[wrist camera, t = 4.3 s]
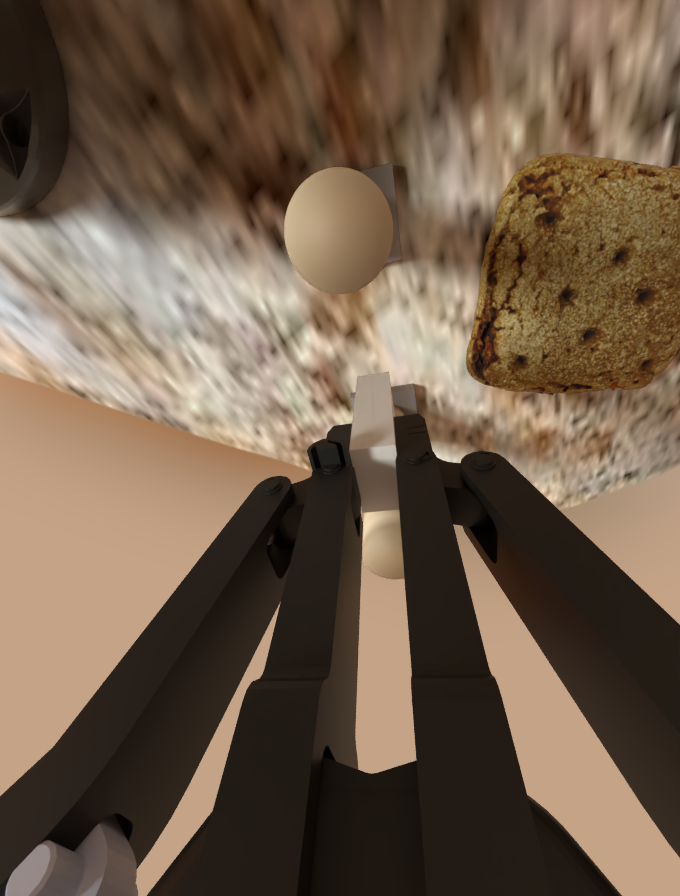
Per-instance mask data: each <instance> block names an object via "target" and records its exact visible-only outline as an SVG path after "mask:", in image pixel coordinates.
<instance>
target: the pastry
mask: <svg viewBox="0 0 680 896" xmlns="http://www.w3.org/2000/svg"><path fill="white" fill-rule="evenodd" d="M480 274H481V278H480V284H479V296H478V302H477V308H476V311H475V318H474V321H475V323H474V326H473V330H472V335H471V339H470V342H469V345H468V348H467V356H466V365H467V369H468V372H469V374H470V375H471V376H472V377H473V378H474V379H476V380H477V381H479V382H481V383H483V384H485V385H488V386H493V387H498V388H500V389H503V388H504V389H505V390H508V391H516V392H537V393H541V394H542V393H546V394H550V395H553V394H554V393H580V392H587V391H598V390H602V389H606V388H607V387H610V388H611V389H612V390H613V391H614V389H615V388H620V387H621V388H623V389H624V390H628V389H637V388H642V387H644V386H646V385H647V384H649V383H651V381H652V379H653V376H656V375H657V374H659V373H660V372H662V371H663V370H664V369H665V368H666V367H667V366H668V364H669V363H670V362H671V360H672V359H673V357H674V355H675V354H676V352H677V351H678V349H679V348H680V167H677V166H671V167H669V168H661V167H659V166H653V165H647V164H638V163H635V162H631V161H621V160H613V159H606V158H596V157H589V156H582V155H573V154H568V153H567V154H559V153H554V154H549V155H543V156H539V157H537V158H535V159H534V160H532V161H530V162H528V163H526V164H525V165H524V167H523V168H521V169H520V170H519V171H518V172H517V173H516V174H515V175H514V176H513V178H512V179H511V181H510V183H509V184H508V186H507V188H506V190H505V192H504V194H503V196H502V199H501V204H500V205H499V207H498V209H497V215H496V220H495V223H494V226H493V228H492V230H491V232H490V235H489V239H488V241H487V243H486V247H485V252H484V260H483V263H482V267H481V272H480Z"/></svg>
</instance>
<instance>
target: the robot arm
mask: <svg viewBox="0 0 680 896" xmlns="http://www.w3.org/2000/svg"><path fill="white" fill-rule="evenodd" d="M67 138H68V107H67V97H66V90H65V84H64V79H63V74H62V69H61V65H60V61H59V57H58V54H57V51H56V47H55V44H54V41H53V38H52V35H51V32H50V29H49V27H48V24H47V22H46V19H45V17H44V14H43V12H42V9H41V7H40V5H39V3H38V0H0V216H6V215H12V214H17V213H20V212H23V211H25V210H27V209H29V208H31V207H33V206H34V205H36V204H37V203H38V202H39V201H41V200H42V199H43V198H44V197H45V196H46V195H47V194H48V192H49V191H50V190H51V188H52V187H53V185H54V183H55V182H56V180H57V178H58V175H59V173H60V171H61V168H62V165H63V161H64V157H65V153H66V147H67ZM307 453H308V456H309V459H310V463H311V466H312V470H313V472H312V476H311V477H310V478H308V479H306V480H303V481H300V482H297V483H294V484H291V481H290V479H288V478H287V477H284V476H276V477H271V478H268V479H266V480H264V481H262V482H260V483H259V484H258V485H257V486H256V487H255V488H254V490H253V491H252V492H251V494H250V495H249V496H248V497H247V499H246V500H245V501H244V503H243V504H242V505H241V506H240V508H239V509H238V510H237V512H236V513H235V514H234V516H233V517H232V518H231V520H230V521H229V522H228V523H227V524H226V526H225V527H224V528H223V530H222V531H221V532H220V533H219V535H218V536H217V538H216V539H215V540H214V541H213V542H212V544H211V545H210V546H209V548H208V549H207V550H206V551H205V553H204V554H203V555H202V557H201V558H200V559H199V560H198V562H197V563H196V564H195V566H194V567H193V568H192V569H191V571H190V572H189V573H188V575H187V576H186V577H185V578H184V580H183V581H182V582H181V584H180V585H179V586H178V587H177V589H176V590H175V591H174V593H173V594H172V595H171V596H170V598H169V599H168V600H167V602H166V603H165V604H164V605H163V607H162V608H161V609H160V611H159V612H158V613H157V615H156V616H155V617H154V618H153V620H152V621H151V622H150V623H149V625H148V626H147V627H146V629H145V630H144V631H143V632H142V634H141V635H140V636H139V638H138V639H137V640H136V641H135V643H134V644H133V645H132V647H131V648H130V649H129V650H128V652H127V653H126V654H125V656H124V657H123V658H122V659H121V661H120V662H119V663H118V665H117V666H116V667H115V669H114V670H113V671H112V672H111V674H110V675H109V676H108V677H107V679H106V680H105V681H104V683H103V684H102V685H101V686H100V688H99V689H98V690H97V692H96V693H95V694H94V695H93V697H92V698H91V699H90V701H89V702H88V703H87V705H86V706H85V707H84V708H83V710H82V711H81V712H80V713H79V715H78V716H77V717H76V719H75V720H74V721H73V722H72V724H71V725H70V726H69V728H68V729H67V730H66V732H65V733H64V734H63V735H62V737H61V738H60V739H59V740H58V742H57V743H56V744H55V746H54V747H53V748H52V749H51V750H50V751H49V752H47V753H46V754H45V755H44V756H43V757H42V758H41V759H40V760H39V761H38V762H37V763H36V764H35V765H33V767H31V768H30V769H29V770H28V771H27V772H26V773H25V774H24V775H23V776H22V777H21V778H19V779H18V780H17V781H16V782H15V783H14V784H13V785H12V786H11V787H10V788H9V789H8V790H7V791H5V792H4V793H3V794H2V795H1V796H0V896H138V890H137V885H136V884H135V882H136V870H137V868H138V867H139V865H140V864H141V863H142V861H143V860H144V858H145V857H146V856H147V854H148V853H149V852H150V850H151V849H152V847H153V846H154V844H155V842H156V841H157V839H158V838H159V836H160V834H161V833H162V831H163V830H164V828H165V827H166V825H167V824H168V822H169V820H170V819H171V817H172V815H173V813H174V811H175V809H176V808H177V806H178V804H179V802H180V800H181V799H182V797H183V795H184V793H185V791H186V789H187V788H188V785H189V784H190V782H191V780H192V778H193V776H194V774H195V772H196V769H197V768H198V766H199V763H200V762H201V760H202V758H203V755H204V754H205V752H206V750H207V748H208V746H209V744H210V742H211V739H212V738H213V736H214V734H215V732H216V729H217V727H218V726H219V723H220V722H221V719H222V718H223V715H224V714H225V712H226V710H227V708H228V705H229V703H230V701H231V699H232V698H233V695H234V694H235V692H236V690H237V688H238V685H239V684H240V682H241V680H242V677H243V675H244V673H245V672H246V669H247V667H248V666H249V663H250V662H251V659H252V657H253V655H254V653H255V651H256V649H257V647H258V645H259V643H260V641H261V639H262V637H263V635H264V633H265V631H266V629H267V627H268V625H269V623H270V621H271V619H272V617H273V615H274V613H275V611H276V609H277V607H278V605H279V603H280V601H281V603H280V607H279V612H278V616H277V620H276V624H275V628H274V632H273V636H272V640H271V645H270V649H269V653H268V657H267V661H266V665H265V669H264V672H263V674H262V676H261V678H260V679H258V680H255V681H253V682H252V683H251V684H250V686H249V687H248V689H247V691H246V694H245V696H244V699H243V702H242V706H241V709H240V713H239V717H238V720H237V724H236V727H235V732H234V735H233V739H232V742H231V746H230V750H229V753H228V757H227V761H226V765H225V768H224V772H223V775H222V779H221V783H220V786H219V790H218V794H217V798H216V801H215V805H214V808H213V811H212V813H211V814H210V816H208V818H207V819H206V820H205V822H204V823H203V824H202V825H201V827H200V828H199V829H198V831H197V832H196V833H195V834H194V836H193V837H192V838H191V839H190V841H189V842H188V843H187V845H186V846H185V847H184V849H183V850H182V851H181V852H180V854H179V855H178V856H177V857H176V859H175V860H174V861H173V863H172V864H171V865H170V866H169V868H168V869H167V870H166V872H165V873H164V875H162V877H161V878H160V879H159V881H158V882H157V883H156V884H155V886H154V887H153V888H152V890H151V891H150V892H149V893H148V895H147V896H622V895H621V894H620V893H619V892H618V891H617V889H616V888H615V887H614V886H613V885H612V884H611V882H610V881H609V880H608V879H607V878H606V876H605V875H604V874H603V873H602V872H601V870H600V869H599V868H598V867H597V866H596V865H595V863H594V862H593V861H592V860H591V859H590V857H589V856H588V855H587V854H586V853H585V852H584V850H583V849H582V848H581V847H580V846H579V844H578V843H577V842H576V841H575V840H574V838H573V837H572V836H571V835H570V834H569V833H568V832H567V830H566V829H565V828H564V827H563V826H562V825H561V824H560V823H559V822H558V821H557V820H556V819H555V818H554V817H553V816H552V815H551V814H550V813H549V812H548V811H547V810H546V809H544V808H543V807H542V806H541V805H540V804H538V803H537V802H536V801H535V800H533V799H532V798H531V797H530V796H528V795H527V793H526V789H525V785H524V781H523V777H522V774H521V770H520V766H519V762H518V758H517V755H516V751H515V747H514V743H513V740H512V735H511V731H510V728H509V724H508V720H507V716H506V712H505V708H504V705H503V701H502V697H501V694H500V690H499V687H498V685H497V682H496V679H495V678H494V676H492V674H491V672H490V669H489V666H488V662H487V658H486V654H485V650H484V647H483V643H482V639H481V634H480V630H479V626H478V622H477V618H476V614H475V610H474V606H473V602H472V598H471V594H470V590H469V586H468V582H467V578H466V574H465V570H464V566H463V562H462V558H461V554H460V550H459V546H458V542H457V538H456V534H455V530H454V526H453V524H455V525H462V526H463V529H464V532H465V533H466V535H467V536H468V538H469V539H470V541H471V542H472V544H473V545H474V547H475V548H476V550H477V552H478V553H479V555H480V556H481V558H482V559H483V561H484V562H485V564H486V565H487V567H488V568H489V570H490V572H491V573H492V575H493V576H494V578H495V579H496V581H497V582H498V584H499V586H500V587H501V589H502V590H503V592H504V593H505V595H506V596H507V598H508V599H509V601H510V602H511V604H512V605H513V607H514V609H515V610H516V612H517V613H518V615H519V616H520V618H521V619H522V621H523V622H524V624H525V625H526V627H527V629H528V630H529V632H530V633H531V635H532V636H533V638H534V639H535V641H536V642H537V644H538V646H539V647H540V649H541V650H542V652H543V653H544V655H545V656H546V658H547V660H548V661H549V663H550V664H551V666H552V667H553V669H554V670H555V672H556V673H557V675H558V676H559V678H560V680H561V681H562V682H563V684H564V686H565V687H566V689H567V690H568V692H569V693H570V695H571V696H572V698H573V700H574V701H575V703H576V704H577V706H578V707H579V709H580V710H581V712H582V713H583V715H584V716H585V718H586V720H587V721H588V723H589V724H590V726H591V727H592V729H593V730H594V732H595V733H596V735H597V737H598V738H599V739H600V741H601V743H602V744H603V746H604V747H605V749H606V750H607V752H608V754H609V755H610V757H611V758H612V760H613V761H614V763H615V764H616V766H617V767H618V769H619V770H620V772H621V774H622V775H623V776H624V778H625V780H626V781H627V783H628V784H629V786H630V787H631V789H632V791H633V792H634V794H635V795H636V797H637V798H638V800H639V801H640V803H641V804H642V806H643V807H644V809H645V810H646V812H647V813H648V814H649V816H650V817H651V819H652V820H653V821H654V823H655V824H656V826H657V827H658V829H659V830H660V831H661V833H662V834H663V836H664V837H665V839H666V840H667V842H668V843H669V844H670V845H671V847H672V848H673V850H674V851H675V852H676V853H677V855H678V856H679V857H680V625H679V624H678V623H677V622H676V621H675V620H674V619H673V618H672V617H671V616H670V615H669V614H668V613H667V612H666V611H665V610H664V609H663V608H661V607H660V606H659V605H658V604H657V603H656V602H655V601H654V600H653V599H652V598H651V597H650V596H649V595H648V594H647V593H646V592H645V591H644V590H642V589H641V588H640V587H639V586H638V585H637V584H636V583H635V582H634V581H633V580H632V579H631V578H630V577H629V576H628V575H627V574H626V573H625V572H624V571H623V570H621V569H620V568H619V567H618V566H617V565H616V564H615V563H614V562H613V561H612V560H611V559H610V558H609V557H608V556H607V555H606V554H605V553H604V552H603V551H601V550H600V549H599V548H598V547H597V546H596V545H595V544H594V543H593V542H592V541H591V540H590V539H589V538H588V537H587V536H586V535H585V534H583V532H581V531H580V530H579V529H578V528H577V527H576V526H575V525H574V524H573V523H572V522H571V521H570V520H569V519H568V518H567V517H566V516H565V515H564V514H563V513H561V512H560V511H559V510H558V509H557V508H556V507H555V506H554V505H553V504H552V503H551V502H550V501H549V500H548V499H547V498H546V497H545V496H544V495H543V494H542V493H540V492H539V491H538V490H537V489H536V488H535V487H534V486H533V485H532V484H531V483H530V482H529V481H528V480H527V479H526V478H525V477H524V476H523V475H522V474H520V473H519V472H518V471H517V470H516V469H515V468H514V467H513V466H512V465H511V464H510V463H509V462H508V461H507V460H506V459H505V458H503V457H502V456H500V455H499V454H496V453H493V452H487V451H479V452H473V453H470V454H468V455H466V456H465V457H464V458H462V460H461V463H452V462H446V461H443V460H441V459H439V458H437V457H436V455H435V454H434V452H433V451H432V447H431V443H430V439H429V435H428V431H427V427H426V423H425V419H424V418H423V417H422V416H420V415H419V414H411V415H404V416H396V417H395V414H394V407H393V399H392V392H391V384H390V377H389V372H384V373H378V374H371V375H365V376H359V377H357V385H356V394H355V403H354V412H353V421H352V424H345V425H337V426H333V427H332V429H331V430H330V431H329V432H328V434H327V438H326V439H322V440H320V441H317V442H315V443H314V444H312V445H311V446H310V447H309V448H308V450H307ZM361 507H362V511H363V513H368V512H379V511H389V510H399V513H400V526H401V539H402V552H403V565H404V577H405V590H406V602H407V616H408V629H409V641H410V654H411V668H412V677H411V689H412V705H413V718H414V732H415V745H416V758H417V760H416V761H413V762H410V763H407V764H404V765H401V766H398V767H394V768H391V769H388V770H385V771H382V772H379V773H375V774H369V773H365V772H363V771H360V770H358V760H357V752H356V741H355V722H356V696H357V668H358V641H359V614H360V587H361V560H362V531H363V521H362V517H361Z"/></svg>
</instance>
